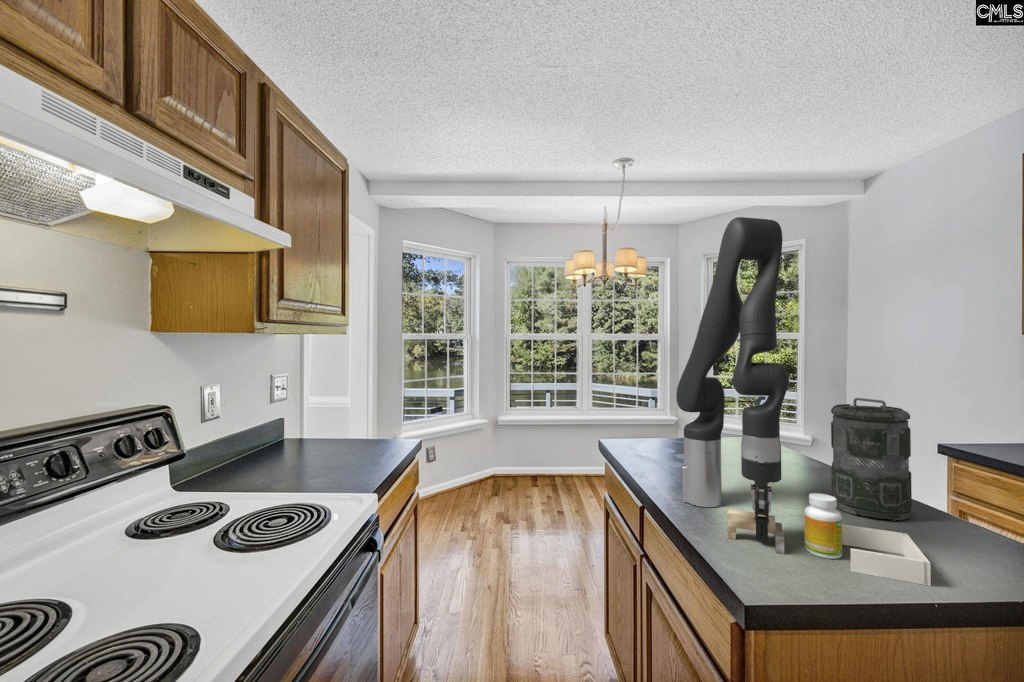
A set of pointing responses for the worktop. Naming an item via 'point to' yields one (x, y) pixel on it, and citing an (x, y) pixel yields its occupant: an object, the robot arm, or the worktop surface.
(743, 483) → the worktop surface
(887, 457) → the canister
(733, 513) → the scraper
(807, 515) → the supplement bottle
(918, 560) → the box
